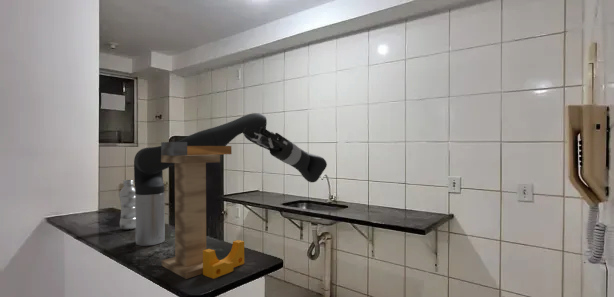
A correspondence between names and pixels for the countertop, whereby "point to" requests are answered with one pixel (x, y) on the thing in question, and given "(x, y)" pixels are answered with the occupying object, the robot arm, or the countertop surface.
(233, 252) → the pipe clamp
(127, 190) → the plastic bottle
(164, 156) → the stand
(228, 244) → the countertop surface
